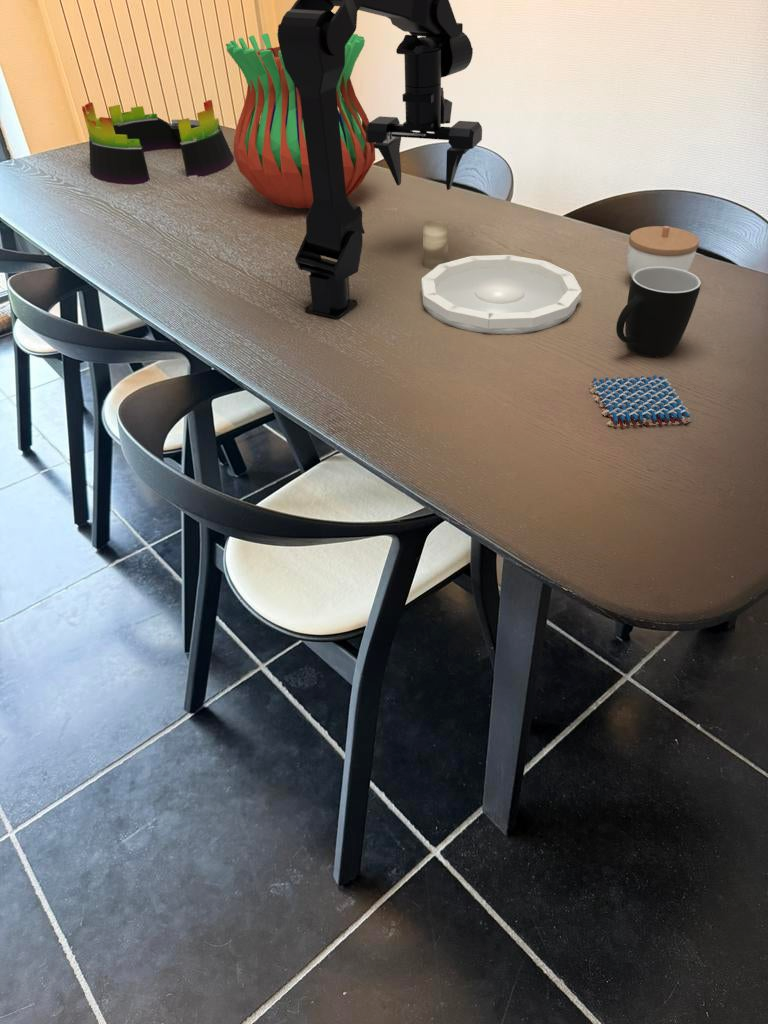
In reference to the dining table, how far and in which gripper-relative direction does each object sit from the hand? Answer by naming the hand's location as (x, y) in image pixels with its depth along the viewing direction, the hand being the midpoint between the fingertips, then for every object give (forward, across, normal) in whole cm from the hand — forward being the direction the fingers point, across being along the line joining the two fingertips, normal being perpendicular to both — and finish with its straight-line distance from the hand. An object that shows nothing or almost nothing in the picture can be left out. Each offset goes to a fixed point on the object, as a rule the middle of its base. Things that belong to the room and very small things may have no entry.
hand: (423, 186), depth 123 cm
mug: (+12, -42, +23) cm, 50 cm away
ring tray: (+12, -18, +14) cm, 26 cm away
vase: (+13, +36, -24) cm, 45 cm away
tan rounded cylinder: (+12, -3, +3) cm, 13 cm away
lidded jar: (+13, -41, -1) cm, 43 cm away
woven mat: (+12, -43, +38) cm, 59 cm away
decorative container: (+13, +87, -39) cm, 96 cm away
